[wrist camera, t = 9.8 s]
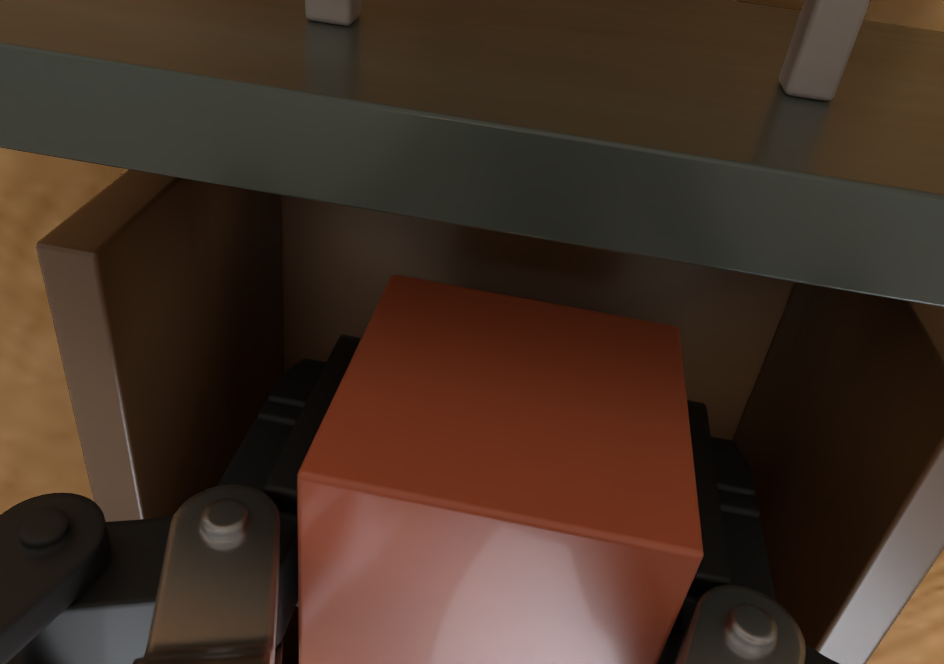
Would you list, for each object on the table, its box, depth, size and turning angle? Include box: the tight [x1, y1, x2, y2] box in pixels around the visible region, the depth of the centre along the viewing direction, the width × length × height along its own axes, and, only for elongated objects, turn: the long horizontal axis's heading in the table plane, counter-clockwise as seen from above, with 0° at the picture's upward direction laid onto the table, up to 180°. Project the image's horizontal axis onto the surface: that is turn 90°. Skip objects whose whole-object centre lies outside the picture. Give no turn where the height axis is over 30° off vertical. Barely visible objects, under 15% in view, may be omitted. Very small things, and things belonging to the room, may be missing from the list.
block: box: [297, 274, 704, 664], centre depth 12 cm, size 4×4×4 cm
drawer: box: [0, 0, 944, 664], centre depth 14 cm, size 20×13×8 cm
